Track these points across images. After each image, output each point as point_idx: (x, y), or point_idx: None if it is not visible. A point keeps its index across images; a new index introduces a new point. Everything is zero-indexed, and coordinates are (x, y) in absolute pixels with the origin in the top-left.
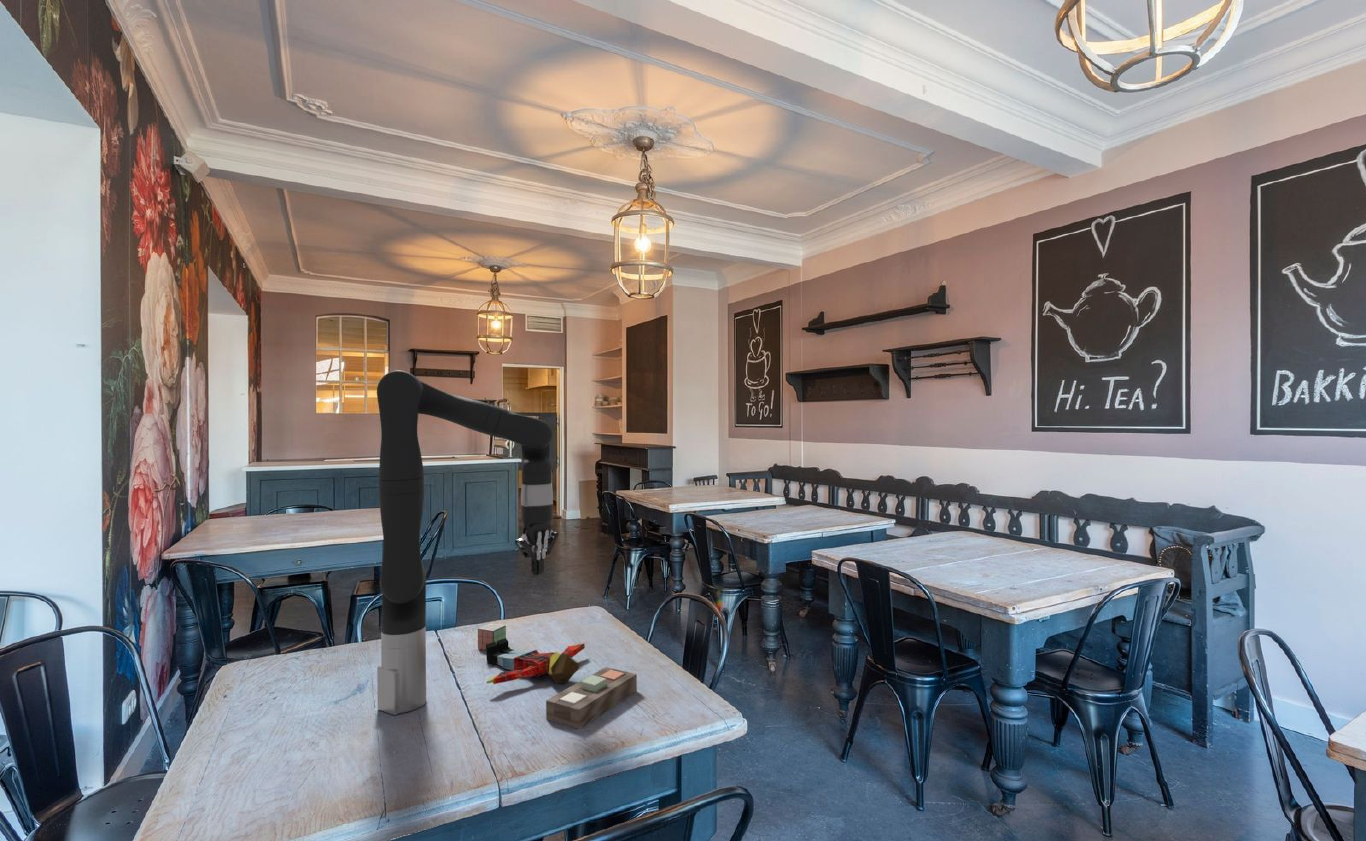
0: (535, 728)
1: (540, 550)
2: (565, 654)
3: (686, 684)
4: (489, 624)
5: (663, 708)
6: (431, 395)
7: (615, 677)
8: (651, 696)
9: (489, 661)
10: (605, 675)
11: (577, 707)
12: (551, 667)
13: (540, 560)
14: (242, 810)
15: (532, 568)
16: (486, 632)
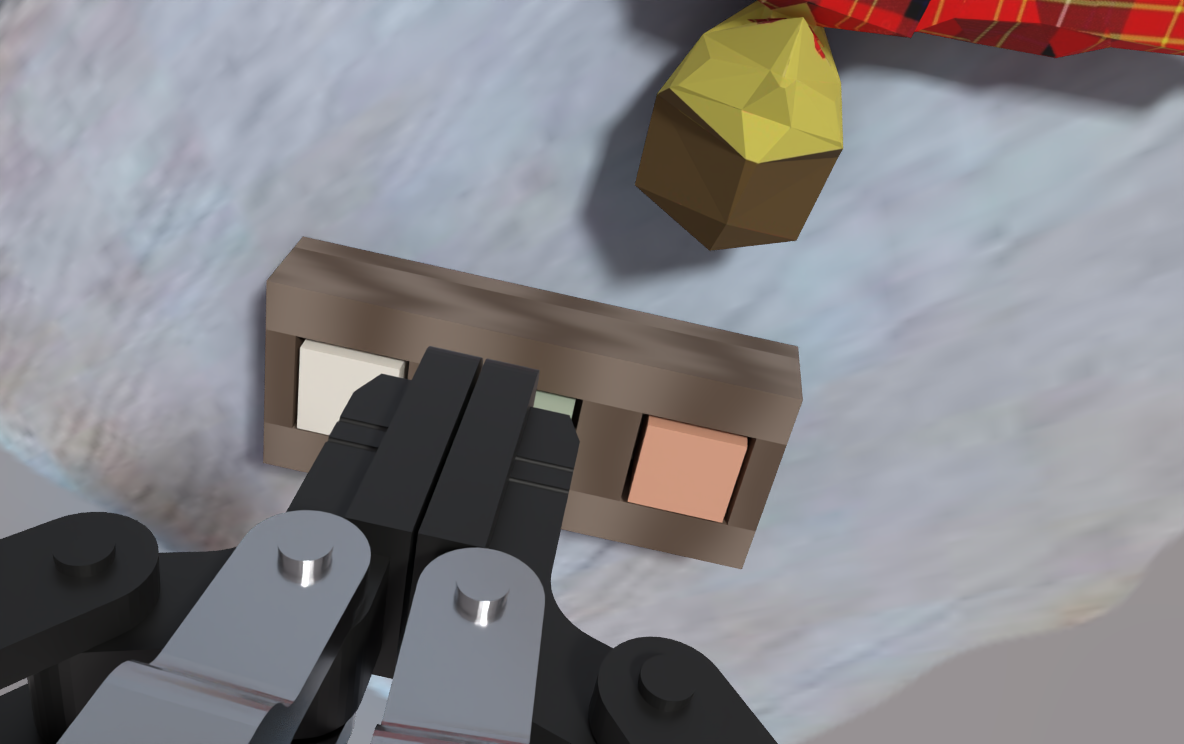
0: (206, 232)
1: (596, 716)
2: (731, 203)
3: (874, 671)
4: None
5: (605, 639)
6: None
7: (650, 501)
8: (704, 576)
9: None
10: (659, 448)
11: (279, 449)
12: (672, 91)
13: (383, 664)
14: None
15: (338, 442)
16: None
